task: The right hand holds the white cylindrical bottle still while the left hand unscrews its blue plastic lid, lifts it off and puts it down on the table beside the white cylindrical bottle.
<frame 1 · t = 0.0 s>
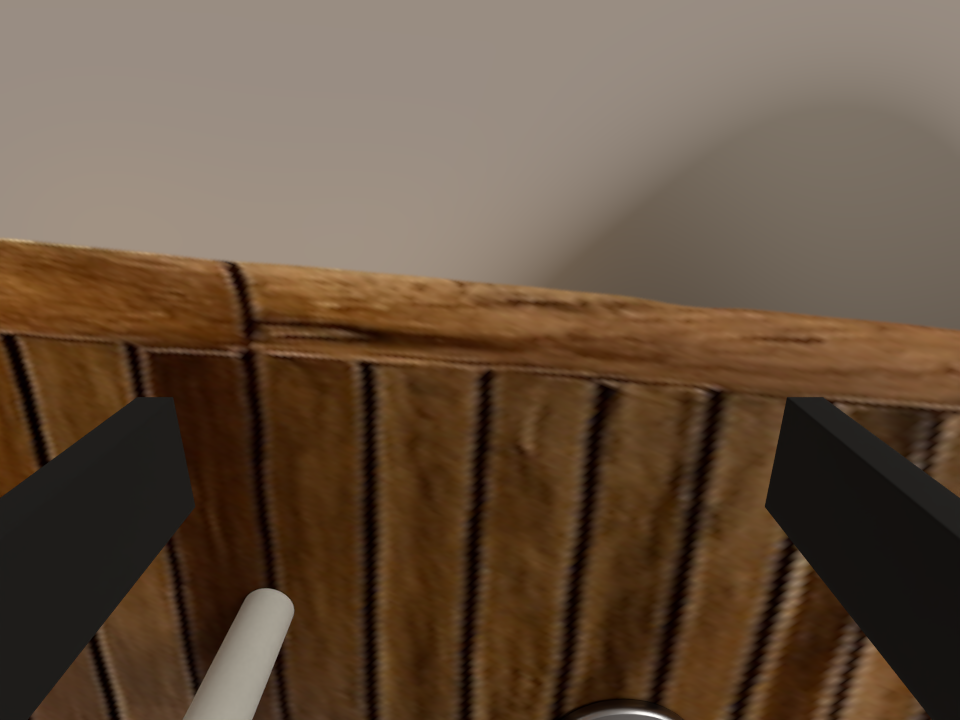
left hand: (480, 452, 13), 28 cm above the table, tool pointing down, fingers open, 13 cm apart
white cylindrical bottle: (269, 607, 50), on the table
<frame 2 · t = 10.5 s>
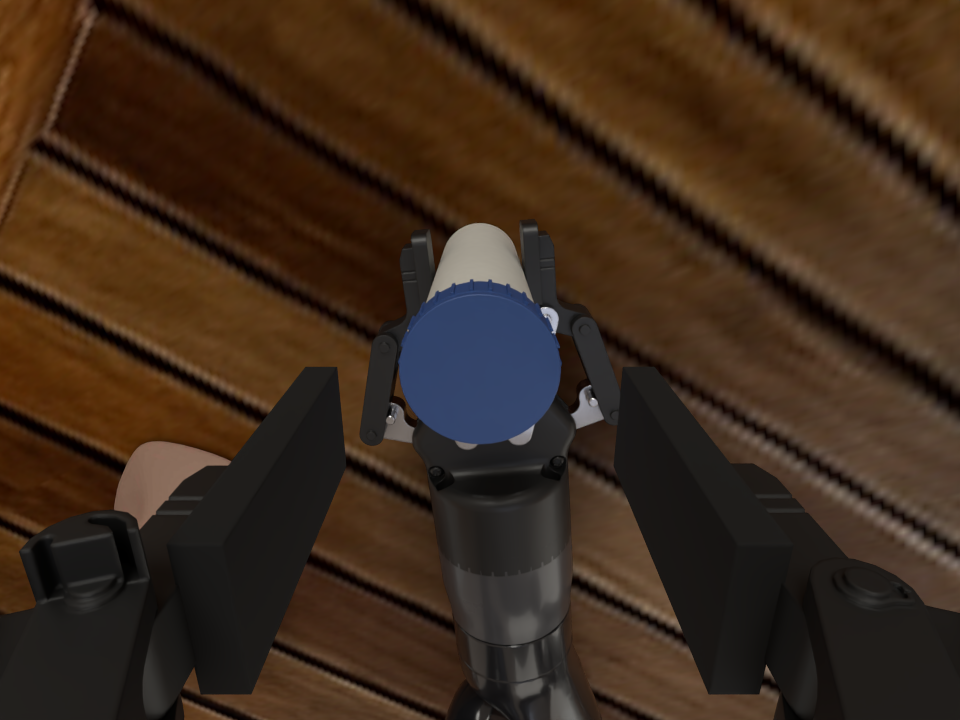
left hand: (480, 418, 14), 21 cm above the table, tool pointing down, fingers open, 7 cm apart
right hand: (473, 228, 27), fingers closed on white cylindrical bottle, 4 cm apart
lid: (479, 368, 17), point 17 cm above the table, screwed on, not yet turned
anatomical model: (204, 525, 40), on the table
white cylindrical bottle: (479, 261, 33), on the table, touching right hand
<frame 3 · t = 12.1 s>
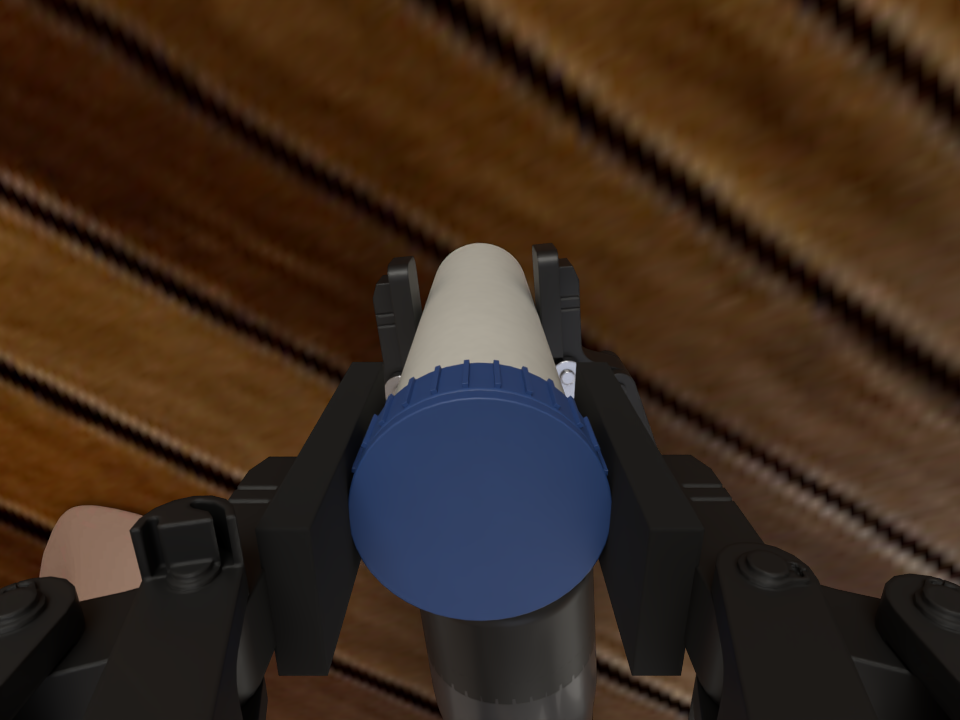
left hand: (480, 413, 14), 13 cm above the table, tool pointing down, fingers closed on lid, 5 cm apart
lid: (479, 507, 11), point 17 cm above the table, screwed on, not yet turned, touching left hand
anatomical model: (150, 601, 33), on the table
white cylindrical bottle: (480, 289, 27), on the table, touching right hand
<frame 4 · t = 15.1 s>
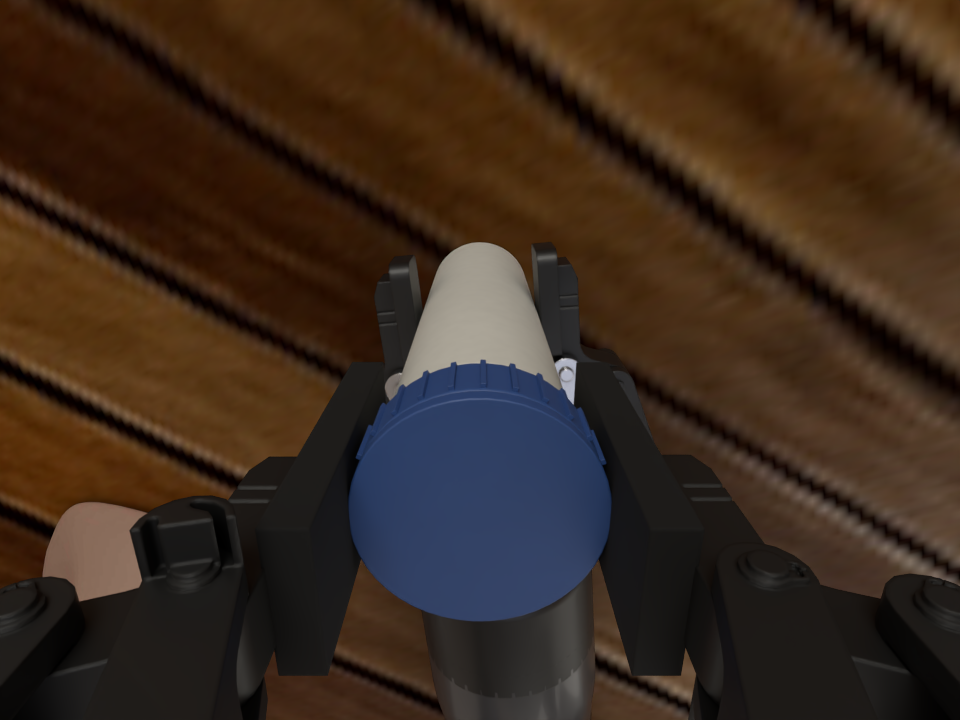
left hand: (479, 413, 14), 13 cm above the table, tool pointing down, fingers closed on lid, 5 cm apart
lid: (480, 507, 11), point 17 cm above the table, turned 86° so far, risen 0.3 cm, still on its thread, touching left hand
anatomical model: (152, 597, 33), on the table
white cylindrical bottle: (480, 288, 27), on the table, touching right hand
when the left hand's fingers open (0 cm above the table, at t = 22.6 s): lid drops 3 cm, point 1 cm above the table.
when the right hand's fingers open (6 cm above the table, at t = 23.1 s): white cylindrical bottle stays where it is, on the table.
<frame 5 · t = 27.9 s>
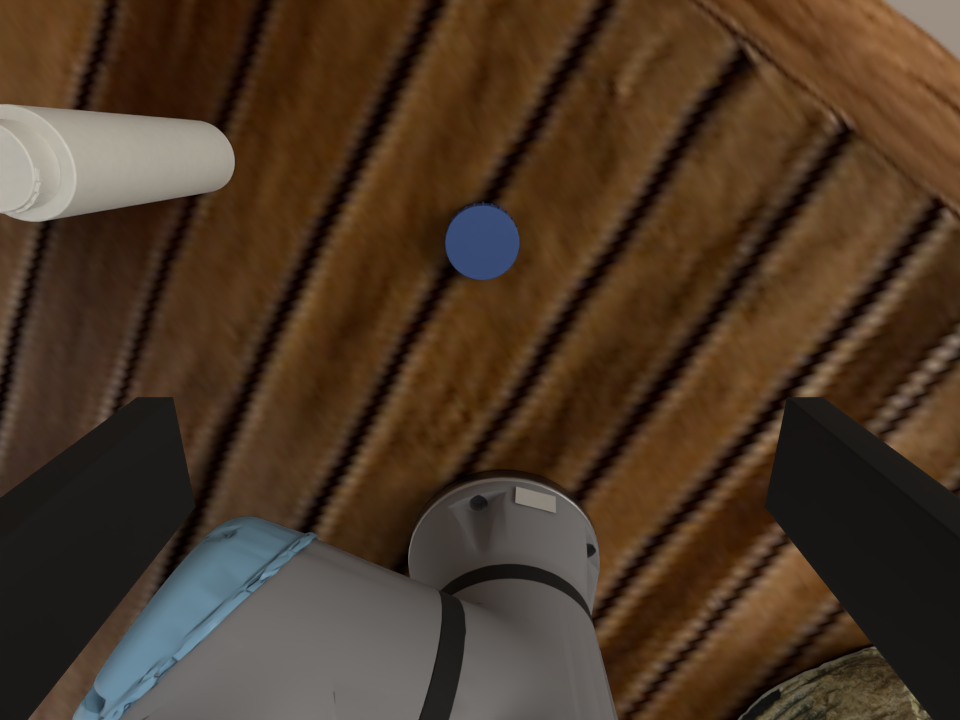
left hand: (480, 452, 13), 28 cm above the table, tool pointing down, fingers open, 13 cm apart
lid: (482, 242, 37), point 1 cm above the table, off its thread
fossil: (818, 692, 53), on the table
white cylindrical bottle: (201, 157, 37), on the table
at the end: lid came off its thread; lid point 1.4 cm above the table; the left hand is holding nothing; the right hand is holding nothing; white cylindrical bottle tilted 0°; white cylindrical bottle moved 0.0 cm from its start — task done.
